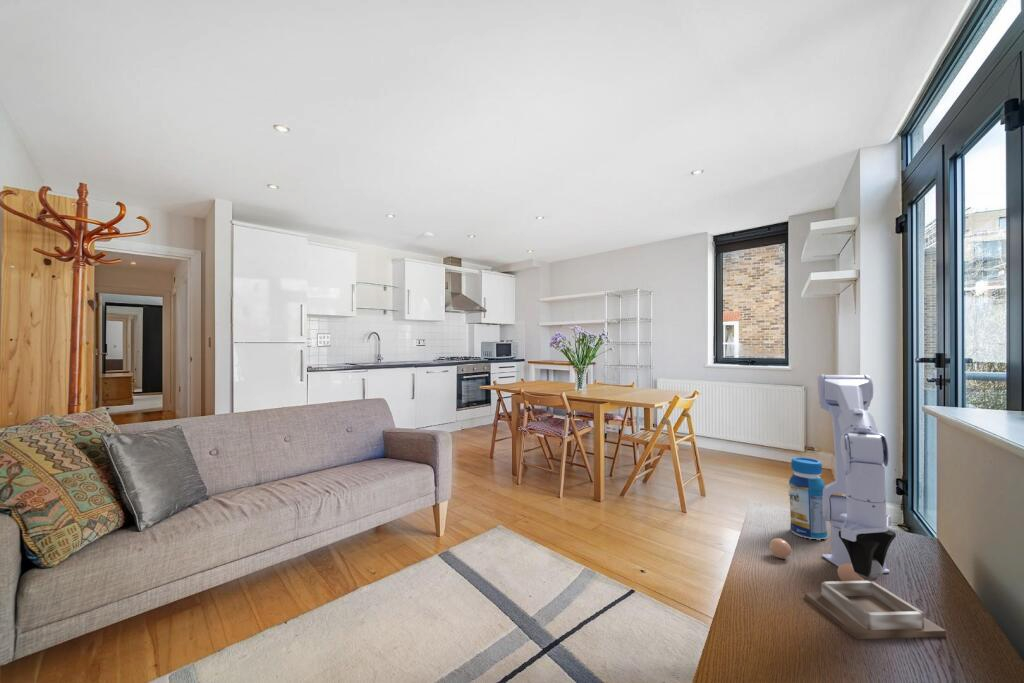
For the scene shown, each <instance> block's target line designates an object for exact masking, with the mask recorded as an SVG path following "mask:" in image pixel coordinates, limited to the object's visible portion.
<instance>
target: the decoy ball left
mask: <svg viewBox="0 0 1024 683" xmlns="http://www.w3.org/2000/svg"><path fill="white" fill-rule="evenodd" d="M837 576H838V577H839V579H840V581H865V579H863V578H861V577H860V576H859V575H858V574H857V573H856V572H855V571H854V569H853V567H852V564H851V563H843V564H841V565H840V566H839V567H838V566H837Z"/></svg>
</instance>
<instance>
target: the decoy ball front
mask: <svg viewBox="0 0 1024 683" xmlns="http://www.w3.org/2000/svg"><path fill="white" fill-rule="evenodd" d="M769 550H770V552H771V554H772V555H773V556H775V557H776V558H779V559H783V560H784V559H787V558H789V557H790V556H791V554H792V548H791V546H790V544H789V542H787V541H786V540H785V539H783V538H773V539H772V540H771V541H770V542H769Z"/></svg>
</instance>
